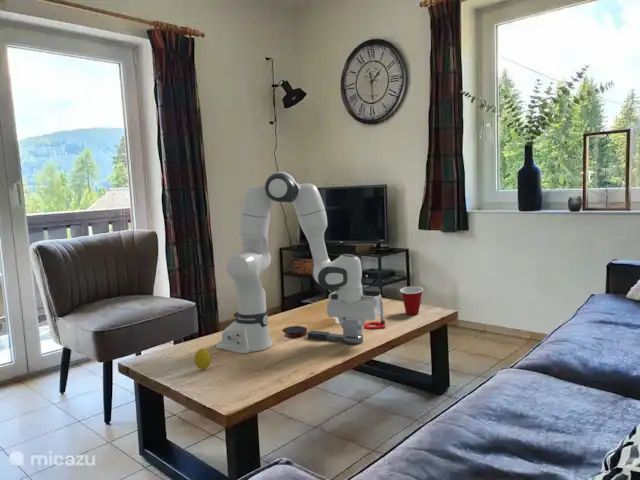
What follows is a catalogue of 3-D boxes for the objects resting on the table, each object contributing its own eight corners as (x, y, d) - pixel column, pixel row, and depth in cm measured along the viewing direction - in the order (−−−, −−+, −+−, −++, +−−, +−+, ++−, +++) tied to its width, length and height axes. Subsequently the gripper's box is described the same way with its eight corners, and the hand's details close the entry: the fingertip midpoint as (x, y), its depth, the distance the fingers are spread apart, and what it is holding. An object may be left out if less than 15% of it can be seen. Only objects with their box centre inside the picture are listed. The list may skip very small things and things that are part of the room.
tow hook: (364, 330, 216) (385, 329, 216) (361, 301, 215) (383, 299, 214) (363, 325, 225) (384, 323, 224) (361, 296, 223) (382, 295, 223)
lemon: (192, 370, 177) (190, 348, 176) (206, 366, 181) (204, 344, 180) (200, 374, 173) (199, 352, 172) (214, 369, 177) (213, 347, 176)
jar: (383, 315, 237) (382, 290, 235) (367, 317, 235) (366, 292, 234) (377, 310, 246) (376, 286, 244) (361, 312, 244) (360, 288, 242)
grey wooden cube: (343, 335, 199) (342, 321, 198) (348, 331, 204) (347, 317, 204) (357, 337, 197) (356, 322, 196) (361, 332, 202) (361, 318, 201)
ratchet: (305, 340, 205) (305, 326, 204) (313, 334, 212) (313, 320, 212) (359, 345, 196) (358, 330, 195) (365, 339, 203) (365, 324, 202)
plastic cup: (396, 315, 237) (395, 290, 235) (406, 309, 245) (406, 285, 244) (417, 318, 230) (416, 292, 229) (427, 312, 239) (427, 287, 237)
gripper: (379, 294, 198) (379, 328, 199) (330, 291, 206) (332, 324, 207) (374, 298, 192) (375, 333, 193) (324, 295, 200) (326, 328, 202)
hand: (352, 328), depth 200 cm, fingers closed on grey wooden cube, 6 cm apart
